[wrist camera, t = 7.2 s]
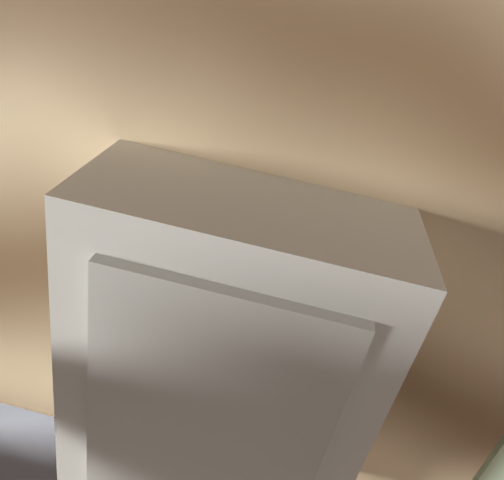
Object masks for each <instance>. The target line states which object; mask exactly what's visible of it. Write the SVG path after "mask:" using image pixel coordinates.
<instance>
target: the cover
mask: <svg viewBox="0 0 504 480" xmlns="http://www.w3.org/2000/svg"><path fill="white" fill-rule="evenodd" d="M44 197H45V220H46V242H47V264H48V287H49V309H50V331H51V354H52V376H53V399H54V421H55V443H56V466H57V480H356V478H357V476H358V474H359V472H360V470H361V468H362V466H363V463H364V461H365V459H366V457H367V455H368V453H369V451H370V449H371V447H372V445H373V443H374V441H375V439H376V437H377V435H378V433H379V431H380V429H381V427H382V425H383V423H384V421H385V419H386V417H387V415H388V412H389V410H390V408H391V406H392V404H393V402H394V400H395V398H396V396H397V394H398V392H399V390H400V388H401V386H402V384H403V382H404V380H405V378H406V376H407V374H408V372H409V370H410V368H411V366H412V364H413V361H414V359H415V357H416V355H417V353H418V351H419V349H420V347H421V345H422V343H423V341H424V339H425V337H426V335H427V333H428V331H429V329H430V327H431V325H432V323H433V321H434V319H435V317H436V315H437V313H438V310H439V308H440V306H441V304H442V302H443V300H444V298H445V296H446V294H447V289H446V286H445V283H444V281H443V278H442V275H441V272H440V269H439V266H438V264H437V261H436V258H435V255H434V252H433V249H432V247H431V244H430V241H429V238H428V235H427V232H426V230H425V227H424V224H423V221H422V218H421V215H420V213H419V210H418V209H417V208H413V207H408V206H404V205H400V204H396V203H391V202H387V201H383V200H379V199H374V198H370V197H366V196H361V195H357V194H353V193H349V192H344V191H340V190H336V189H332V188H327V187H323V186H319V185H314V184H310V183H306V182H302V181H297V180H293V179H289V178H284V177H280V176H276V175H272V174H267V173H263V172H259V171H255V170H250V169H246V168H242V167H237V166H233V165H229V164H225V163H220V162H216V161H212V160H207V159H203V158H199V157H195V156H190V155H186V154H182V153H178V152H173V151H169V150H165V149H160V148H156V147H152V146H148V145H143V144H139V143H135V142H130V141H126V140H122V139H119V140H118V141H117V142H115V143H114V144H112V145H111V146H110V147H108V148H107V149H106V150H104V151H103V152H102V153H100V154H99V155H98V156H96V157H95V158H94V159H92V160H91V161H89V162H88V163H87V164H85V165H84V166H83V167H81V168H80V169H79V170H77V171H76V172H75V173H73V174H72V175H71V176H69V177H68V178H66V179H65V180H64V181H62V182H61V183H60V184H58V185H57V186H56V187H54V188H53V189H52V190H50V191H49V192H48V193H46V194H45V195H44Z"/></svg>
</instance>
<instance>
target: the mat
mask: <svg viewBox="0 0 504 480" xmlns="http://www.w3.org/2000/svg"><path fill="white" fill-rule="evenodd" d="M472 480H504V434H503V436H502V437H501V439H500V440H499V442H498V443H497V444H496V446H495V447H494V449H493V450H492V452H491V453H490V455H489V456H488V457H487V459H486V460H485V462H484V463H483V465H482V466H481V467H480V469H479V470H478V472H477V473H476V475H475V476H474V477H473V479H472Z"/></svg>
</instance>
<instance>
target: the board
mask: <svg viewBox="0 0 504 480" xmlns="http://www.w3.org/2000/svg"><path fill="white" fill-rule="evenodd" d="M119 139H122V140H126V141H130V142H135V143H139V144H143V145H148V146H152V147H156V148H160V149H165V150H169V151H173V152H178V153H182V154H186V155H190V156H195V157H199V158H203V159H207V160H212V161H216V162H220V163H225V164H229V165H233V166H237V167H242V168H246V169H250V170H255V171H259V172H263V173H267V174H272V175H276V176H280V177H284V178H289V179H293V180H297V181H302V182H306V183H310V184H314V185H319V186H323V187H327V188H332V189H336V190H340V191H344V192H349V193H353V194H357V195H361V196H366V197H370V198H374V199H379V200H383V201H387V202H391V203H396V204H400V205H404V206H408V207H413V208H417V209H418V210H419V213H420V215H421V218H422V221H423V224H424V227H425V230H426V232H427V235H428V238H429V241H430V244H431V247H432V249H433V252H434V255H435V258H436V261H437V264H438V266H439V269H440V272H441V275H442V278H443V281H444V283H445V286H446V289H447V294H446V296H445V298H444V300H443V302H442V304H441V306H440V308H439V310H438V313H437V315H436V317H435V319H434V321H433V323H432V325H431V327H430V329H429V331H428V333H427V335H426V337H425V339H424V341H423V343H422V345H421V347H420V349H419V351H418V353H417V355H416V357H415V359H414V361H413V364H412V366H411V368H410V370H409V372H408V374H407V376H406V378H405V380H404V382H403V384H402V386H401V388H400V390H399V392H398V394H397V396H396V398H395V400H394V402H393V404H392V406H391V408H390V410H389V412H388V415H387V417H386V419H385V421H384V423H383V425H382V427H381V429H380V431H379V433H378V435H377V437H376V439H375V441H374V443H373V445H372V447H371V449H370V451H369V453H368V455H367V457H366V459H365V461H364V463H363V466H362V468H361V470H360V472H359V474H358V476H357V478H356V480H472V479H473V477H474V476H475V475H476V473H477V472H478V470H479V469H480V467H481V466H482V465H483V463H484V462H485V460H486V459H487V457H488V456H489V455H490V453H491V452H492V450H493V449H494V447H495V446H496V444H497V443H498V442H499V440H500V439H501V437H502V436H503V434H504V0H0V403H4V404H8V405H11V406H15V407H19V408H23V409H27V410H30V411H34V412H38V413H42V414H46V415H49V416H53V417H54V399H53V376H52V354H51V331H50V309H49V287H48V264H47V242H46V220H45V197H44V195H45V194H46V193H48V192H49V191H50V190H52V189H53V188H54V187H56V186H57V185H58V184H60V183H61V182H62V181H64V180H65V179H66V178H68V177H69V176H71V175H72V174H73V173H75V172H76V171H77V170H79V169H80V168H81V167H83V166H84V165H85V164H87V163H88V162H89V161H91V160H92V159H94V158H95V157H96V156H98V155H99V154H100V153H102V152H103V151H104V150H106V149H107V148H108V147H110V146H111V145H112V144H114V143H115V142H117V141H118V140H119Z"/></svg>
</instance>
